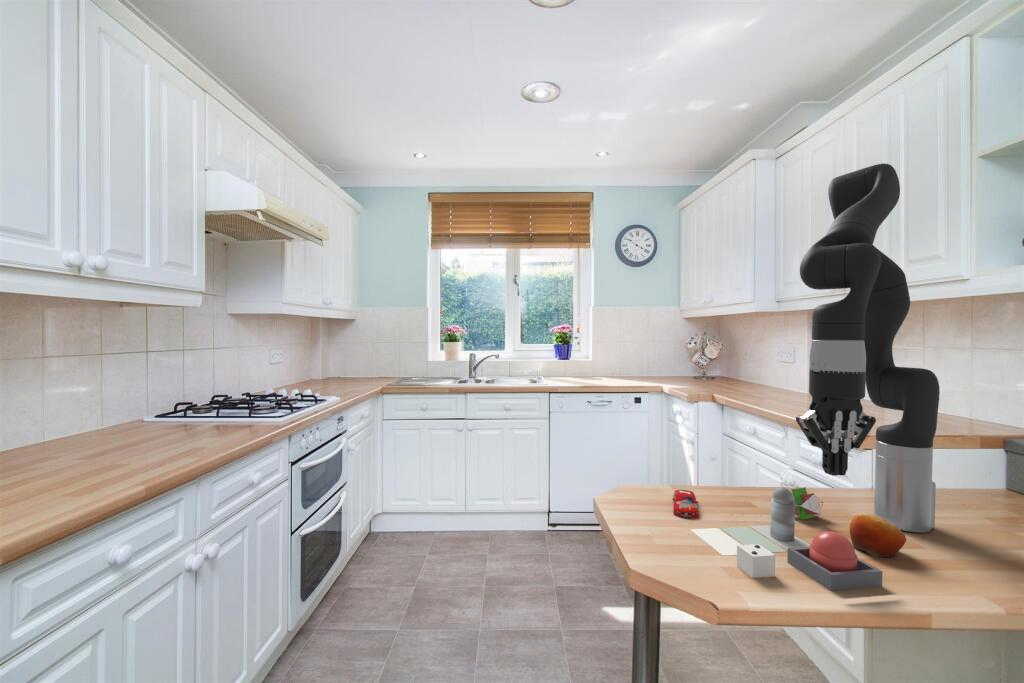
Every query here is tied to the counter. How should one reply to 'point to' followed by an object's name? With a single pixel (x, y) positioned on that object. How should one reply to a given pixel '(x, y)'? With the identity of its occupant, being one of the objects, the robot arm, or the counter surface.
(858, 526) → the fruit
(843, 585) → the gray square tray
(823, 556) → the dome
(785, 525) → the ridged rounded cylinder
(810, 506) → the geometric puzzle
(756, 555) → the die
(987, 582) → the counter surface
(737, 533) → the game board
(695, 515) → the race car
